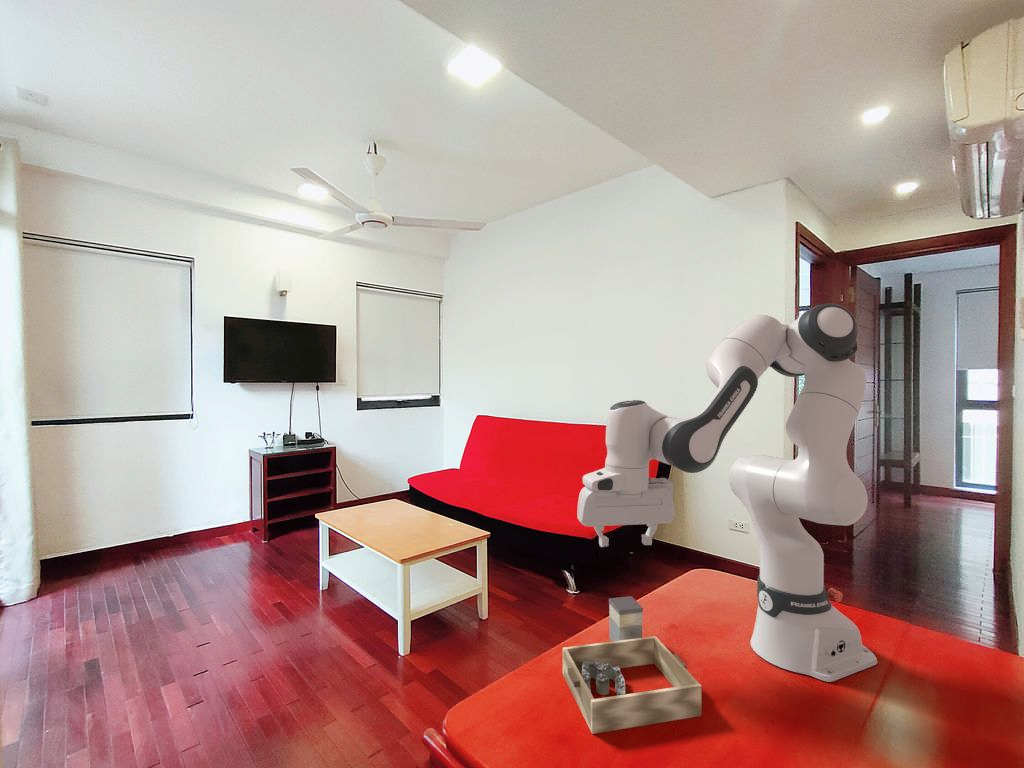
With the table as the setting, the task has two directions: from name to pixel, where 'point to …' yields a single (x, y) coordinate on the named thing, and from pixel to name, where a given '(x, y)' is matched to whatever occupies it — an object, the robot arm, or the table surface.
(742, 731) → the table surface
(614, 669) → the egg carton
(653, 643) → the tote
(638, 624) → the tin
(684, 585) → the table surface
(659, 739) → the table surface
